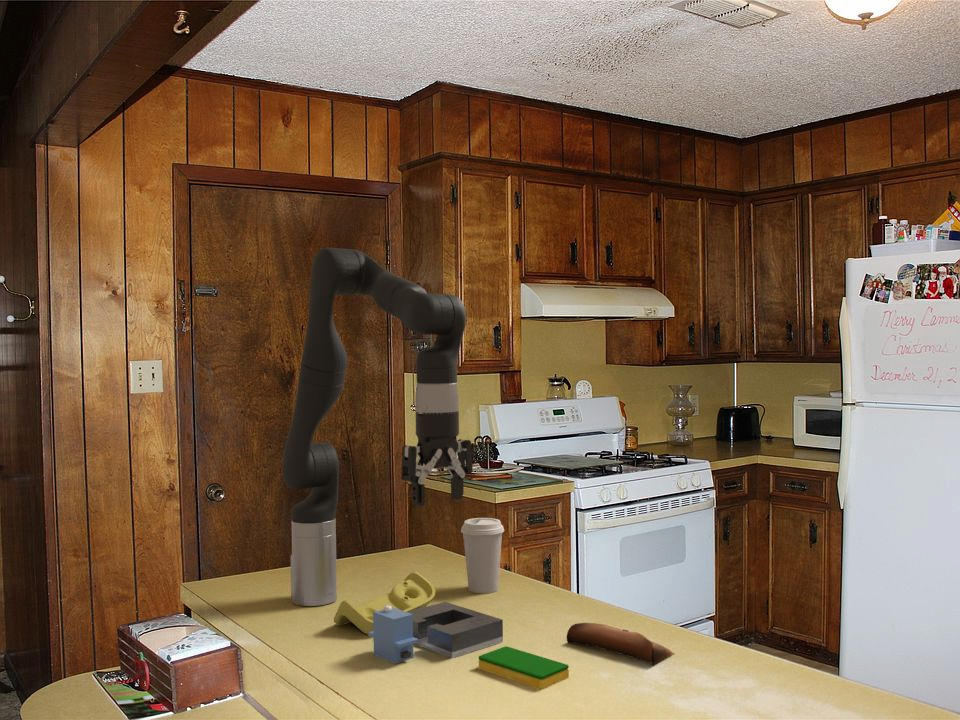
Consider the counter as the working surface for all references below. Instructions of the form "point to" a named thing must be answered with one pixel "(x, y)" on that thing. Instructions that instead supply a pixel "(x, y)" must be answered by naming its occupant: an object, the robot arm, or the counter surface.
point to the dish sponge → (524, 667)
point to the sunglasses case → (618, 641)
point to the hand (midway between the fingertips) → (438, 502)
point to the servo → (393, 634)
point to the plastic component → (388, 602)
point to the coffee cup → (482, 553)
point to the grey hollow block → (455, 629)
